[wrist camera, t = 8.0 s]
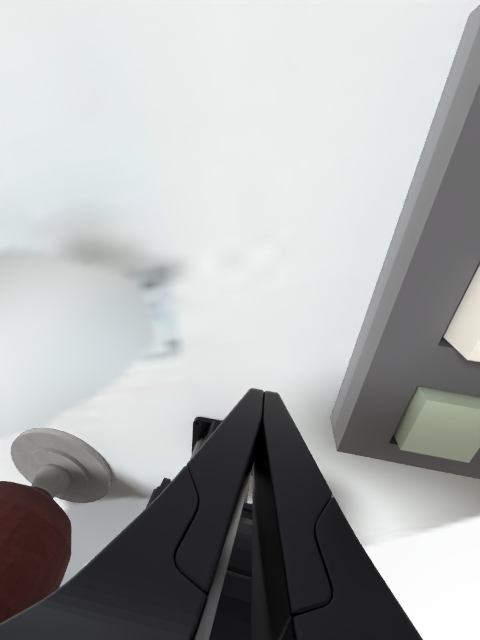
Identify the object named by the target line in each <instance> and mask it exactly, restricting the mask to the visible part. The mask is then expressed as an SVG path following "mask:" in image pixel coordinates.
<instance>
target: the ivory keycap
mask: <svg viewBox="0 0 480 640" xmlns="http://www.w3.org/2000/svg"><path fill="white" fill-rule="evenodd" d="M444 338H445V339H446V340H447V341H448V342H449V343H450V344H451V345H452V346H453V347H454V348H455V349H456V350H457V351H459V352H460V353H461V354H462V355H463V356H464V357H465V358H466V359H467V360H472V361H478V362H480V265H479V267H478V269H477V271H476V273H475V275H474V277H473V279H472V281H471V283H470V285H469V287H468V289H467V291H466V293H465V295H464V297H463V299H462V301H461V303H460V305H459V307H458V309H457V311H456V313H455V315H454V317H453V319H452V321H451V323H450V325H449V327H448V329H447V331H446V333H445V335H444Z"/></svg>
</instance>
